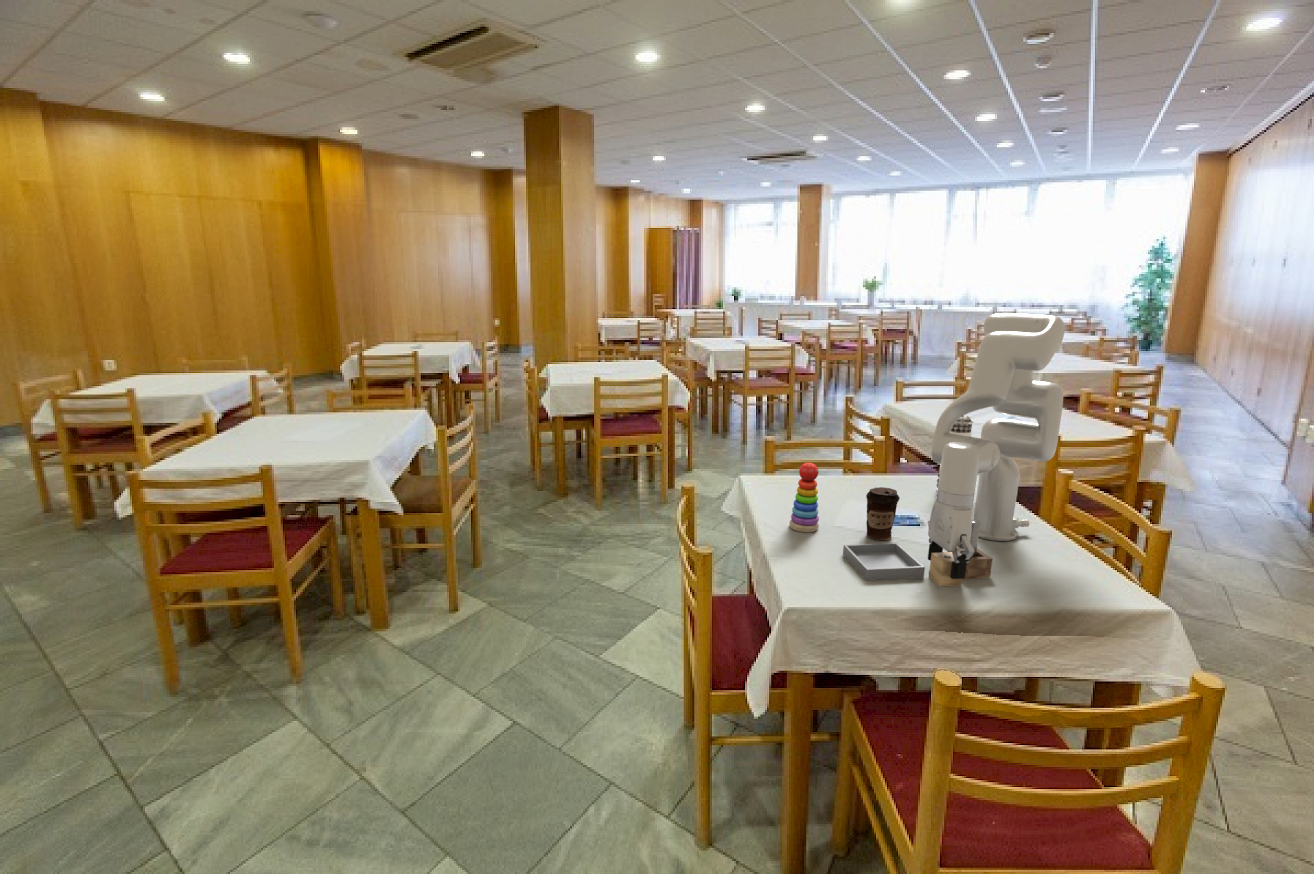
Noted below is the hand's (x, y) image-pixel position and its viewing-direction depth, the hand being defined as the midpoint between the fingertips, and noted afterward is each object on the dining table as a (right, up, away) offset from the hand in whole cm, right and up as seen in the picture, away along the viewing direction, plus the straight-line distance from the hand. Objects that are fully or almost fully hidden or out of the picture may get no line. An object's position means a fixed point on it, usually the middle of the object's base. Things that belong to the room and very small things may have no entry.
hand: (945, 568), depth 152 cm
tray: (-12, -1, +8) cm, 15 cm away
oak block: (0, -3, +1) cm, 3 cm away
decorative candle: (+28, +12, +62) cm, 69 cm away
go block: (+8, -2, +6) cm, 10 cm away
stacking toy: (-25, +5, +31) cm, 41 cm away
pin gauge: (+8, -1, +6) cm, 10 cm away
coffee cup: (-7, +3, +26) cm, 27 cm away
